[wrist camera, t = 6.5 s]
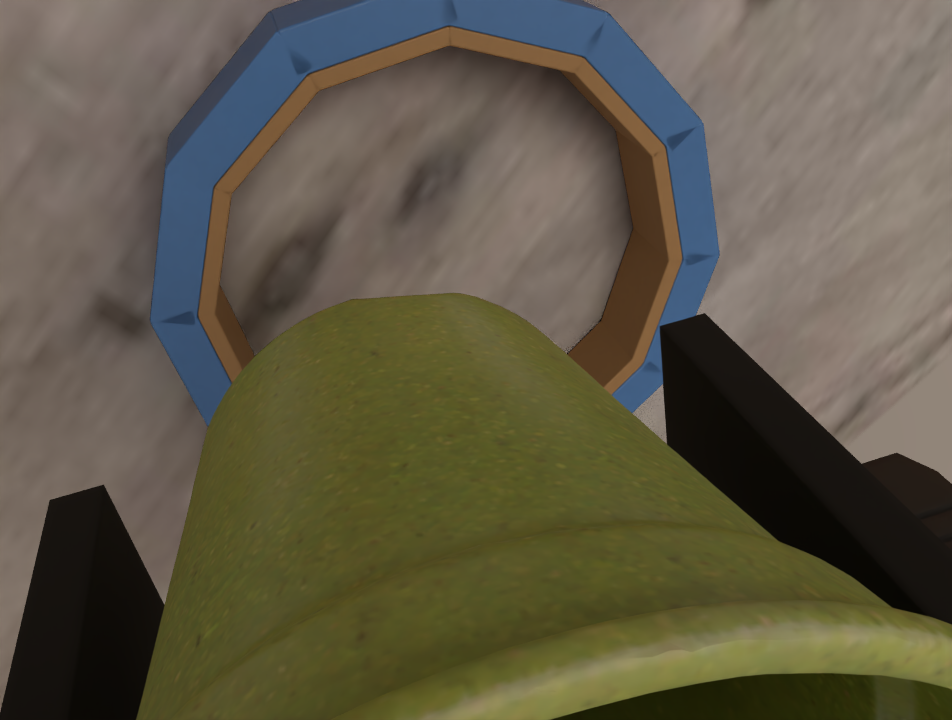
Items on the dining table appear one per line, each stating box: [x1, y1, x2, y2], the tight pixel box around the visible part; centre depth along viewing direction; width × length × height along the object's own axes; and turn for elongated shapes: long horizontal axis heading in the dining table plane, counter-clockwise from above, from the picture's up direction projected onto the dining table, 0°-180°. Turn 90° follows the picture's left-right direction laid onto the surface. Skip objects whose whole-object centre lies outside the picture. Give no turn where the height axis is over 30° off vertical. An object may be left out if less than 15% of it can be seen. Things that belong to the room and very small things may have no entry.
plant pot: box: [136, 293, 952, 720], centre depth 11 cm, size 9×9×9 cm
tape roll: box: [150, 0, 719, 426], centre depth 30 cm, size 18×18×3 cm
